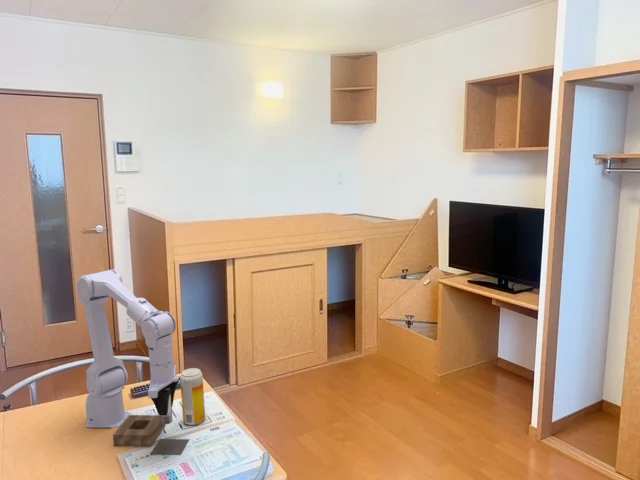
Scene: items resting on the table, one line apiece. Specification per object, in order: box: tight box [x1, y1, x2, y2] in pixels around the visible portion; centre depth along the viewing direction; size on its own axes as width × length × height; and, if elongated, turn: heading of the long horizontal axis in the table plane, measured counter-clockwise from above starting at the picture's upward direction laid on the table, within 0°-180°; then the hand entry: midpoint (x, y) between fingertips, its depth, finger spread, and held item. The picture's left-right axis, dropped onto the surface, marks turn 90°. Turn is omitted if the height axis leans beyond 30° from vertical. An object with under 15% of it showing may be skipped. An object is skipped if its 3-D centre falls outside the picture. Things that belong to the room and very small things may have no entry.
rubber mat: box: [149, 438, 190, 456], centre depth 129 cm, size 8×7×1 cm
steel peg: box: [160, 386, 173, 426], centre depth 127 cm, size 3×3×9 cm
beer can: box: [179, 367, 206, 426], centre depth 140 cm, size 6×6×15 cm
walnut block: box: [112, 414, 166, 448], centre depth 134 cm, size 10×10×4 cm
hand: (165, 411), depth 127 cm, fingers closed on steel peg, 3 cm apart
